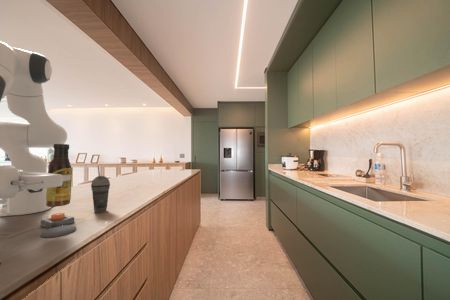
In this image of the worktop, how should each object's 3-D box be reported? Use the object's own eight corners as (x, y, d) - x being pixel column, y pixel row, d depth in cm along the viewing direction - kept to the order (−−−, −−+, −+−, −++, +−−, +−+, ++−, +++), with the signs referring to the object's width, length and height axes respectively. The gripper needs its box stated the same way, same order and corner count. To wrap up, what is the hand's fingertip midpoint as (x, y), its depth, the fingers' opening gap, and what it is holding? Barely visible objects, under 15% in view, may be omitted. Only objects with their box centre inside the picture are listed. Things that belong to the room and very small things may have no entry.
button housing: (40, 225, 72) (40, 219, 72) (63, 219, 79) (63, 214, 79) (51, 228, 69) (51, 222, 69) (74, 222, 76) (74, 217, 76)
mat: (34, 234, 64) (34, 232, 64) (66, 225, 73) (66, 223, 73) (49, 239, 61) (49, 237, 61) (81, 229, 69) (81, 227, 69)
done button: (48, 220, 73) (48, 215, 73) (60, 217, 77) (61, 212, 77) (54, 222, 72) (54, 216, 72) (66, 219, 75) (66, 213, 75)
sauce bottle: (56, 208, 63) (58, 143, 63) (40, 207, 64) (41, 143, 64) (76, 203, 69) (77, 144, 70) (61, 202, 70) (62, 144, 71)
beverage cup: (103, 214, 86) (104, 166, 87) (86, 213, 86) (87, 166, 87) (113, 209, 94) (113, 165, 94) (97, 209, 94) (97, 165, 94)
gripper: (22, 171, 51) (81, 168, 63) (-12, 168, 60) (46, 166, 72) (22, 197, 51) (81, 188, 63) (-12, 190, 59) (46, 184, 72)
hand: (62, 176), depth 68 cm, fingers closed on sauce bottle, 6 cm apart
